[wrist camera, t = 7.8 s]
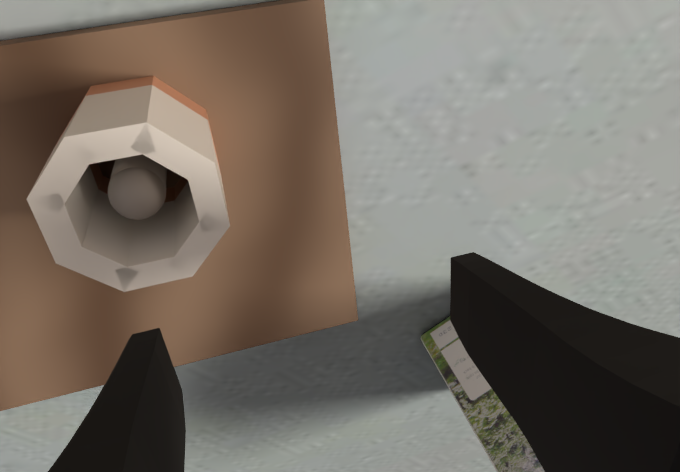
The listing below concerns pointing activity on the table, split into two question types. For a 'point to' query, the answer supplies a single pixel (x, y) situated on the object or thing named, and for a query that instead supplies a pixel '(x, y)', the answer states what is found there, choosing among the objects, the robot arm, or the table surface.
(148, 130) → the sleeve
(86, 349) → the pin board
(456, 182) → the table surface
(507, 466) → the syrup box
